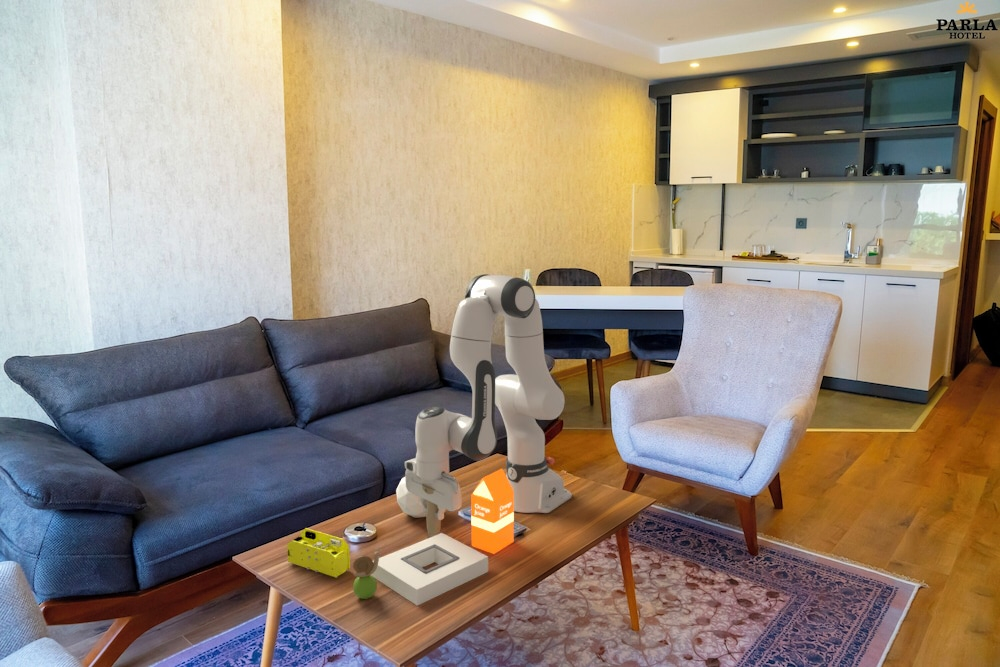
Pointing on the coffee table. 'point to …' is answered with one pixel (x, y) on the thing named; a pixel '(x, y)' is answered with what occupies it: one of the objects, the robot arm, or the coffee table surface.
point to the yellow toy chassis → (319, 552)
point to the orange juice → (492, 513)
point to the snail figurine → (365, 575)
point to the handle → (431, 514)
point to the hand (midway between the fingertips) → (433, 515)
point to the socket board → (422, 584)
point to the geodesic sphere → (409, 501)
